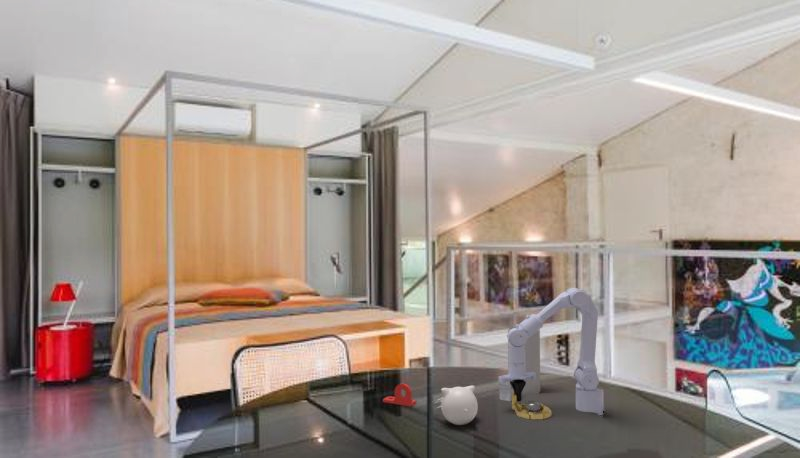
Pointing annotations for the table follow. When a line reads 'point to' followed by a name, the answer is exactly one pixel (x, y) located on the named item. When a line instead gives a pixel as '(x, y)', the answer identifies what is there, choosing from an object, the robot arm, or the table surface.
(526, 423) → the table surface
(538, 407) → the grey shiny rounded piece
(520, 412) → the gold octagonal ring
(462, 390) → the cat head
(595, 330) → the robot arm
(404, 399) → the bracket
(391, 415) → the table surface
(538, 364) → the cylinder vase
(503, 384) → the medicine box
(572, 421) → the table surface
